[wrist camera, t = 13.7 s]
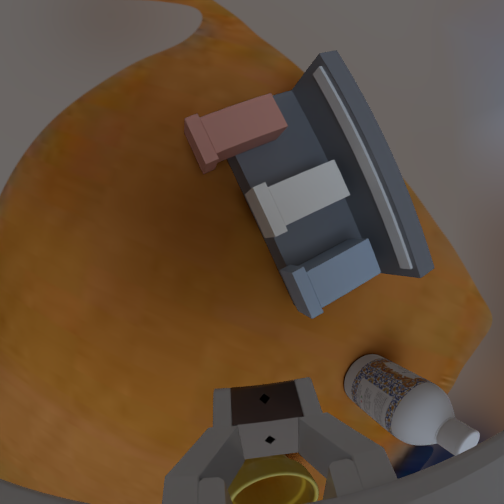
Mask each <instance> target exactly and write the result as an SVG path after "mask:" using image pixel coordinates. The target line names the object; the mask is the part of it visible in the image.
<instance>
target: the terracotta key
mask: <svg viewBox="0 0 504 504" xmlns="http://www.w3.org/2000/svg"><path fill="white" fill-rule="evenodd" d="M287 127H288V125H287V123H286V121H285V119H284V117H283V115H282V113H281V111H280V109H279V107H278V106H277V104H276V102H275V100H274V98H273V96H272V94H271V93H269V94H266V95H263V96H260V97H257V98H254V99H251V100H247V101H244V102H242V103H239V104H236V105H233V106H230V107H227V108H224V109H221V110H219V111H216V112H213V113H211V114H208V115H205V116H203V117H200V118H199V116H198V113H197V114H195V115H192V116H189V117H187V118H185V128H184V133H185V135H186V138H187V140H188V142H189V144H190V146H191V148H192V151H193V153H194V155H195V157H196V159H197V162H198V164H199V166H200V168H201V170H202V172H203V174H205V173H207V172H209V171H212V170H214V169H215V167H216V165H217V163H218V162H221V161H223V160H225V159H228V158H230V157H233V156H235V155H238V154H240V153H243V152H245V151H248V150H250V149H253V148H255V147H258V146H260V145H263V144H266V143H268V142H271V141H274V140H276V139H277V138H278V137H279V136H280V135H281V133H282V132H283V131H284V130H285V129H286V128H287Z"/></svg>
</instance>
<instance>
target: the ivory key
mask: <svg viewBox="0 0 504 504" xmlns="http://www.w3.org/2000/svg"><path fill="white" fill-rule="evenodd" d="M349 195H350V193H349V191H348V189H347V186H346V184H345V182H344V180H343V177H342V175H341V173H340V171H339V169H338V167H337V164H336V162H335V160H331V161H329V162H326V163H324V164H322V165H319V166H317V167H314V168H312V169H309V170H307V171H305V172H302V173H300V174H297V175H295V176H293V177H290V178H288V179H286V180H283V181H281V182H279V183H276V184H274V185H272V186H269V187H267V185H266V182H264V183H262V184H259V185H257V186H255V187H253V188H251V189H250V190H249V191H248V192H247V193H246V194H245V196H246V198H247V201H248V203H249V205H250V207H251V209H252V211H253V213H254V216H255V218H256V220H257V222H258V224H259V226H260V228H261V231H262V233H263V235H264V237H265V238H270V237H277V236H279V235H281V234H283V233H285V232H287V231H288V230H287V228H286V225H288V224H290V223H292V222H294V221H296V220H299V219H301V218H303V217H305V216H307V215H309V214H311V213H313V212H315V211H317V210H320V209H322V208H324V207H326V206H328V205H330V204H332V203H334V202H336V201H339V200H341V199H343V198H345V197H347V196H349Z"/></svg>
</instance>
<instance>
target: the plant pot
mask: <svg viewBox="0 0 504 504" xmlns="http://www.w3.org/2000/svg"><path fill="white" fill-rule="evenodd" d="M228 492H229V495H230V498H231V500H232V503H233V504H305V503H311V502H316V501H317V499H318V495H319V490H318V486H317V484H316V482H315V480H314V479H313V477H312V476H311V474H310V473H309V472H308V471H307V469H306V468H305V467H304V466H303V465H302V464H300V463H299V462H297V461H294V460H292V459H289V458H288V457H286V456H285V455H284V454H281V455H273V456H266V457H258V458H251V459H245V461H244V463H243V465H242V466H241V468H240V470H239V471H238V473H237V475H236V476H235V478H234V480H233V481H232V483H231V484H230V486H229V488H228Z"/></svg>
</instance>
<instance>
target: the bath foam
mask: <svg viewBox="0 0 504 504" xmlns="http://www.w3.org/2000/svg"><path fill="white" fill-rule="evenodd" d="M344 389H345V392H346V394H347V396H348V397H349V398H350V399H351V400H352V401H353V402H355V403H356V404H357V405H358V406H359V407H360V408H361V409H362V410H363V411H365V412H366V413H367V414H368V415H369V416H371V417H372V418H373V419H374V420H375V421H376V422H378V423H379V424H380V425H381V426H382V427H384V428H385V429H386V430H387V431H388V432H390V433H391V434H392V435H393V436H394V437H396V438H398V439H399V440H401V441H403V442H405V443H408V444H412V445H430V444H437V443H438V444H439V445H441V446H442V447H443V448H445V449H446V450H448V451H449V452H451V453H452V454H453V455H455V456H456V455H458V454H460V453H462V452H464V451H466V450H468V449H470V448H472V447H474V446H476V445H477V443H478V441H479V436H480V434H479V432H478V431H477V430H475V429H472V428H471V427H469V426H468V425H466V424H465V423H463V422H461V421H459V420H457V419H456V418H455V414H454V411H453V407H452V404H451V402H450V399H449V398H448V396H447V395H446V393H445V392H444V391H443V390H442V389H441V388H440V387H438V386H437V385H436V384H434V383H432V382H430V381H428V380H426V379H424V378H422V377H420V376H418V375H417V374H415V373H413V372H411V371H409V370H407V369H405V368H403V367H401V366H399V365H397V364H395V363H393V362H392V361H390V360H388V359H385V358H384V357H382V356H379V355H376V354H369V355H365V356H363V357H361V358H359V359H358V360H356V361H355V362H354V363H353V364H352V365H351V367H350V368H349V370H348V372H347V374H346V376H345V380H344Z"/></svg>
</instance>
